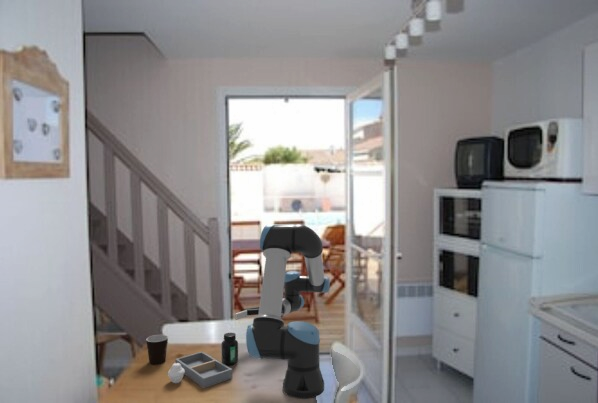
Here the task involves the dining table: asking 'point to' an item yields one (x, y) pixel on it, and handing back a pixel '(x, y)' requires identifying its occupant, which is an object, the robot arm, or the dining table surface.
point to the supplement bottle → (229, 349)
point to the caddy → (204, 369)
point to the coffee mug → (157, 349)
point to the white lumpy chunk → (176, 373)
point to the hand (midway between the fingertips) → (246, 319)
